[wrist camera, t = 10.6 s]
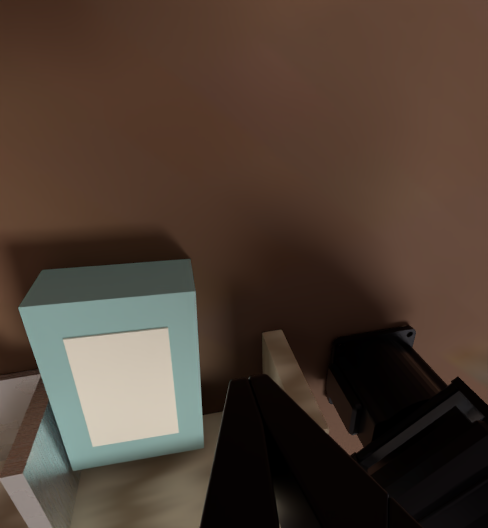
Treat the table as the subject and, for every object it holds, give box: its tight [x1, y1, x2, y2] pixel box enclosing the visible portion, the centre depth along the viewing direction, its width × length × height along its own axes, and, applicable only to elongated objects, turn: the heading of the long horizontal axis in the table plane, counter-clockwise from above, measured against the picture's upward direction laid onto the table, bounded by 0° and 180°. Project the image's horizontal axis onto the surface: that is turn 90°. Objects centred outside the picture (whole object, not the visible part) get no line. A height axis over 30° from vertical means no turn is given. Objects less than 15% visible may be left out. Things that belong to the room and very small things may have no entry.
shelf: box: [0, 329, 329, 528], centre depth 21 cm, size 22×8×8 cm, turn 92°
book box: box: [18, 259, 204, 471], centre depth 21 cm, size 8×12×4 cm, turn 179°
